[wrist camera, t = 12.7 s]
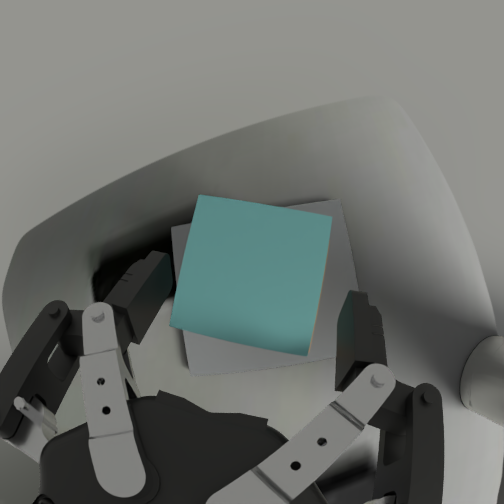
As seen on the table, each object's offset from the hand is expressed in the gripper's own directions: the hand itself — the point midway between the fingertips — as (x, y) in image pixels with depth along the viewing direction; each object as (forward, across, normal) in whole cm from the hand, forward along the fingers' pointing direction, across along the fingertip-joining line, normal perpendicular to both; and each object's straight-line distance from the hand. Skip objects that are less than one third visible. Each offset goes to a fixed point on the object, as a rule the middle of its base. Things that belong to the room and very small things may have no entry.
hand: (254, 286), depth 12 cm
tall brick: (+6, 0, +5) cm, 8 cm away
